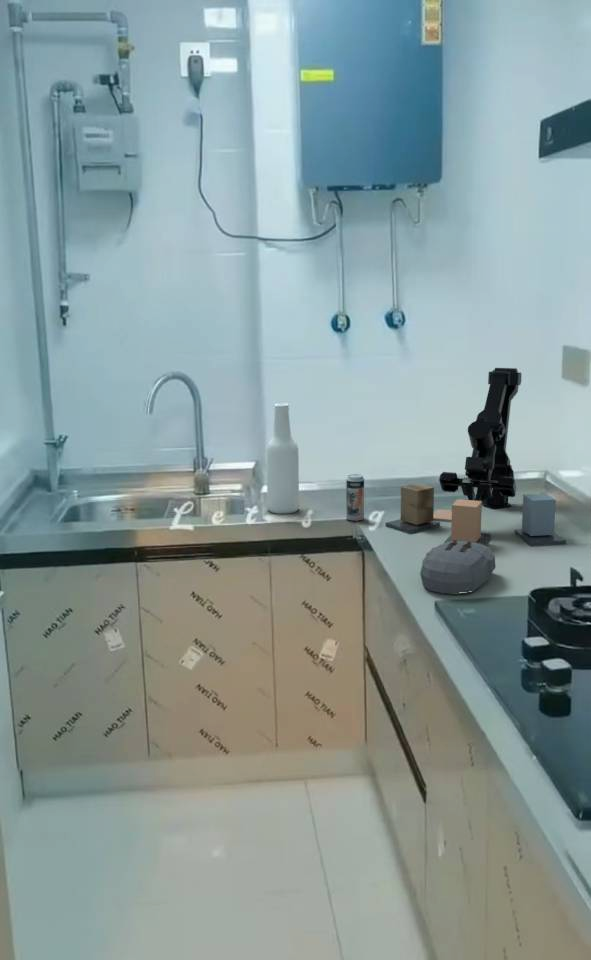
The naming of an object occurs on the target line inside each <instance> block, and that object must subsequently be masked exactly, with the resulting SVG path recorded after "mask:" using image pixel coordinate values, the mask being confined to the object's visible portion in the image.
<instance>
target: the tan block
mask: <svg viewBox="0 0 591 960" xmlns="http://www.w3.org/2000/svg"><path fill="white" fill-rule="evenodd" d="M482 506H483V505H482V501H474V500H468V499H460V498H457V499H456V500H455V501H454V502H453V504H451V511H452V522H451V524H450V525H451V527H450V528H451V531H450V533H451V534H450V535H451V541H454V540H457V541H469V542H474V543H476V542H477V541H478V540H479V538H480V537H481V533H482V511H483V509H482Z"/></svg>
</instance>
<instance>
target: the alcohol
mask: <svg viewBox="0 0 591 960" xmlns="http://www.w3.org/2000/svg"><path fill="white" fill-rule="evenodd" d="M273 406H274V422H273V435H272V437H271V439H270V440H269V442H268V443H267V445H266V451H265V452H266V487H267V488H266V491H267V493H266V494H267V500H266V501H267V509H268V511H269V512H270V513H272V514H278V515H279V514H280V515H286V514H287V515H288V514H294V513H296V512H297V511H298V510H299V508H300V485H299V484H300V479H299V478H300V477H299V476H300V475H299V473H300V472H299V470H300V469H299V462H300V461H299V446H298V443H297V442H296V440H295V439H294V438H293V437H292V433H291V423H290V415H289V413H290V412H289V411H290V408H289V406H290V404H289V403H287V402H277V403H275V404H274V405H273Z"/></svg>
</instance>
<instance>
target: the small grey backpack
mask: <svg viewBox="0 0 591 960" xmlns="http://www.w3.org/2000/svg"><path fill="white" fill-rule="evenodd" d="M421 562H422V563H421V569H420V573H419V575H420V578H421V583H422V586H423V587H425V589H428V590H430V591H432V592H435V591H436V593H439V592H442V593H441V594H443V593H459V592H469V591H473V590H474V591H476V590H477V589H479V588H480V587H481V586H482V584H483V583H484V582H485V583H486V582H487V580H488V579H490V577H491V575H492V574H493V572H494V571H495V569H496V556H495V554H493V551H492V549H491V548H490V546H489V545H486V544H485V545H483V544H479V543H474V542H469V541H457V540H454V541H451V542H446V543H444V542H443V543H441V544H439V545H437V546H436V547H432V548H431V549H430V550H429V551H428V552H427V553H426V554H425V557H424V558H423V559H422V561H421ZM485 583H484V584H485ZM484 584H483V585H484ZM478 587H479V588H478ZM475 589H476V590H475ZM474 591H473V592H474Z"/></svg>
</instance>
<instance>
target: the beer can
mask: <svg viewBox="0 0 591 960" xmlns="http://www.w3.org/2000/svg"><path fill="white" fill-rule="evenodd" d="M345 481H346V483H345V485H346V497H345V498H346V500H345V501H346V502H345V503H346V516H345V517H346V519H347V520H349V521H350V520H351V521H350V522H359V520H360V521H362V520H364V519H365V478H364V476H363V475H362V474H358V473H356V474H348V476H347V478H346V479H345Z"/></svg>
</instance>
